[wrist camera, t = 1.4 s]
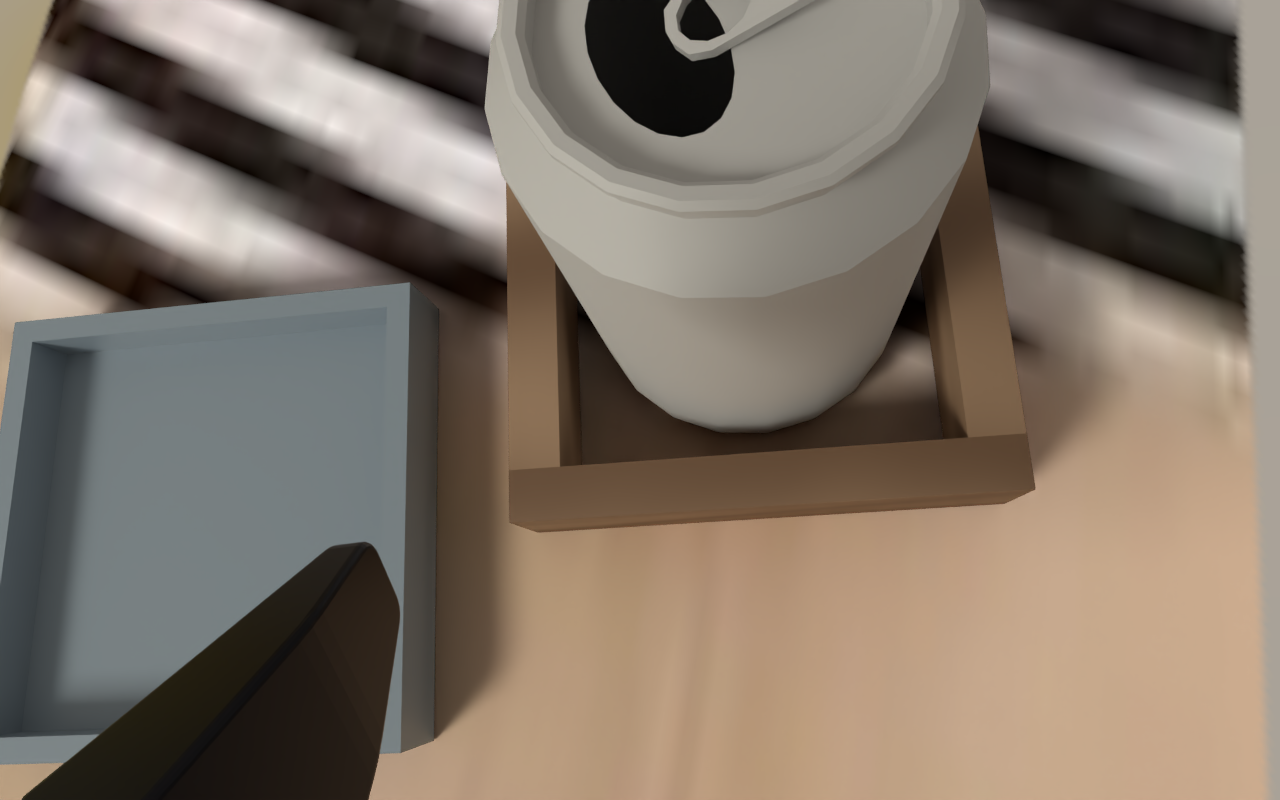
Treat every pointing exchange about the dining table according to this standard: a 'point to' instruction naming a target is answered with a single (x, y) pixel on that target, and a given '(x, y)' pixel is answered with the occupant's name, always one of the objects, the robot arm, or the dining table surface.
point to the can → (738, 181)
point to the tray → (206, 493)
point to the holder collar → (779, 480)
